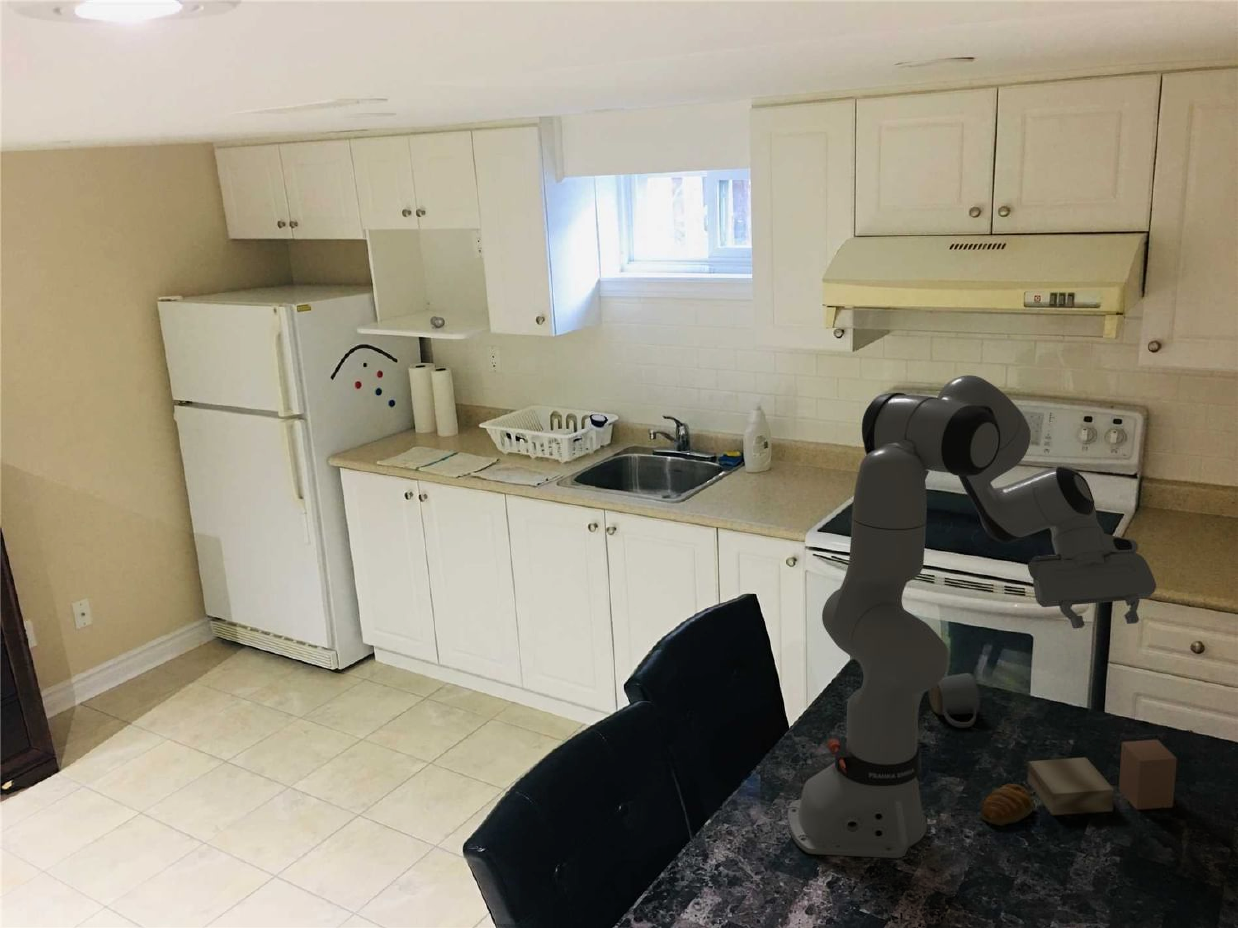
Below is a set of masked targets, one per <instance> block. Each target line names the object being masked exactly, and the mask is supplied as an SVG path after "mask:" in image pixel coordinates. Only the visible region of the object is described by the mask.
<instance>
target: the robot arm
mask: <svg viewBox="0 0 1238 928" xmlns="http://www.w3.org/2000/svg"><path fill="white" fill-rule="evenodd" d="M1030 428H1031V427H1030V425H1029V423H1028V421H1027V419H1026V418H1025V416H1024V414H1023V413H1022V411H1021V410H1020V409H1019V408H1018V406H1017V405H1016V404H1015V403H1014V402H1013V401H1012V400H1011V399H1010V397H1008V396H1007V395H1006V394H1005V393H1004V392H1003V391H1001V390H1000V389H999V388H998V387H997V386H995V385H993V384H992V383H991V382H989V381H987V379H984V378H982V377H980V376H977V375H971V374H970V375H961V376H959V377H955V378H953V379H951V380H950V381H949V382H948V383H947V384H945V385H944V387H942V388H941V390H940V392H939V393H938V396H937V397H936V396H930V395H929V396H928V395H920V394H919V395H918V394H916V395H915V394H906V393H904V392H890V393H884V394H880V395H878V396H876V397H875V398H874V399H872V400H871V403H870V404H869V405H868V406H867V408H866V409H865V412H864V414H863V416H862V422H861V437H862V441H863V448H864V451H865V456H864V457H863V458H862V460H861V463H860V466H859V470H858V472H857V476H856V477H857V478H856V481H855V487H854V494H853V500H852V501H853V502H852V510H851V511H852V512H851V513H852V514H851V527H850V528H851V530H850V531H851V532H850V542H849V543H850V545H849V546H850V547H849V558H848V564H847V569H846V572H845V575H844V578H843V581H842V584H841V586H840V588H838V589H837V590H835V591H834V592H832V593H831V595H829V597H828V598H827V599H826V602H825V603H824V605H823V608H822V613H821V621H822V624H823V628H824V629H825V631H826V632H827V634H828V635H829V637H830V639H831V640H832V641H833V642H834V644H835V645H836V646H837V647H838V648H839V649H840V650H841V651H843V652H844V653H846V654H847V655H849V657H851V658H853V659H854V660H855V661H857V662H858V663H859V665H860V667H861V670H862V673H863V678H862V680H863V681H862V683H861V684H862V685H861V687H860V688H858V689H857V690H856V691H854V692H853V693H852V694H851V695H850V697H849V698H848V700H847V703H846V740H845V742H844V743H843V744H842V745H840V742H839V740H838V739H836V738H830V739H829V740H828V742H827V744H826V746H827V748H828V750H829V753H830V754H831V755H833V756H834V762H833V763H831V764H830V765H828V766H826V768H824V769H823V770H821V771H820V772H818V773H817V774H815V775H813V776H811V777H810V778H808V780H806V782H805V783H804V786H803V788H802V793H801V797H800V799H796V800H793V801H792V802H791V803H790V804H789V805H788V806H789V807H788V809H787V815H786V816H787V817H786V823H787V827H788V830H789V832H790V835H791V837H792V839H793V841H794V842H795V844H796V845H797V846H798V847H799V848H800V849H801V850H803V851H804V852H806V853H807V854H810V855H825V856H826V855H827V856H829V855H830V856H844V857H845V856H848V857H867V858H886V859H887V858H889V859H900V858H903V857H904V856H905V855H906V853H907V852H908V850H909V848H910V847H912V846H913V845H915V844H917V842H920V840H922V838H923V837H925V835H926V832H927V830H928V826H927V825H928V824H927V821H926V818H925V815H924V812H923V806H922V803H921V796H920V795H921V794H920V789H919V787H920V786H919V781H920V778H921V777H920V776H921V771H922V769H921V766H922V762H921V750H920V747H919V746H918V728H919V712H920V711H919V710H920V706H921V702H922V699H923V697H924V694H925V693H926V692H928V690H930V689H932V688H933V687H935V686H936V685H937V684H938V683H939V682H940V681H941V679H942V678H943V677H945V674H946V672H947V670H948V667H949V662H950V653H949V649H948V647H947V645H946V642H944V641H943V639H942V637H941V636H940V635H939V634H937V632H936V631H935V630H934V629H933V628H932V627H931V626H930V625H929V624H928V623H927V622H925V621H923V620H922V619H920V618H919V617H917V616H915V615H914V614H912V613H911V612H909V611H907V610H906V609H904V605H903V595H904V592H905V588H906V585H907V583H908V582H911V581H913V580H914V579H916V578H917V577H919V575H920V574H921V572H922V571H923V568H924V563H925V562H924V561H925V547H926V546H925V545H926V532H927V529H926V528H927V514H928V510H927V509H928V505H927V504H928V502H927V500H928V499H927V487H926V485H927V484H926V479H927V478H928V475H929V473H930V471H933V472H940V473H946V474H952V475H954V476H957V477H958V479H959V480H960V483H961V484H962V487H963V489H964V490H965V492H966V494H967V496H968V497H969V499H970V501H971V503H972V504H973V506H974V509H975V510H976V512H977V513H978V515H979V518H980V522H981V524H982V527H983V528H984V530H985V531H986V532H987V534H988V536H989V537H990V538H991V539H994V541H997V542H1001V543H1003V544H1008V545H1010V544H1011V543H1015V542H1016V541H1019V540H1021V539H1023V538H1025V537H1027V536H1029V535H1032V534H1033V535H1034V534H1035V533H1038V532H1042V531H1044V530H1046V529H1049V530H1050V534H1051V544H1052V547H1053V550H1054V553H1055V554H1047V555H1036V556H1034V557H1033V558H1031V559H1030V560H1029V561H1028V562H1027V570H1028V573H1029V575H1030V577H1031V578H1032V583H1033V590H1034V591H1033V593H1034V595H1035V600H1036V603H1037V604H1038V605H1039V606H1041V607H1042V608H1051V607H1059V610H1060V612H1061V613H1062V614H1063V615H1064V616H1065V617H1066V618H1067V619H1068V620H1070V623H1071V626H1072V629H1075V630H1076V629H1083V628H1084V627H1085V621H1084V617H1083V615H1078V614H1077V613H1076V612H1075V611H1074V610H1073V609H1072V607H1073V606H1074V605H1087V604H1088V605H1090V604H1099V603H1110V602H1122V601H1125V604H1126V606H1130V607H1129V611H1127V612H1126V613H1125V614H1123V616H1124V619H1125V620H1126V621H1125V622H1126V624H1127V625H1129V624H1138V622H1139V621H1140V619H1139V615H1138V612H1137V611H1138V608H1139V604H1140V600H1145V599H1148V598H1150V597H1151V596H1152V595H1153V594H1154V593H1155V591H1156V589H1157V583H1156V580H1155V577H1154V575H1153V572H1152V570H1151V568H1150V566H1149V564H1148V562H1147V561H1146V559H1145V558H1144V556H1143V555H1141V554H1139V553H1137V551H1138V550H1139V544H1138V542H1137V541H1136V540H1134V539H1130V538H1126V537H1122V536H1121V537H1119V536H1115V535H1111V534H1109V533H1108V534H1107V533H1105V532H1104V529H1103V527H1102V526H1101V524H1100V523H1099V521H1098V518H1097V509H1096V507H1095V506H1096V505H1095V499H1094V497H1093V494H1092V490H1091V488H1090V485H1089V483H1088V481H1087V480H1086V478H1085V477H1084V476H1083V475H1082V474H1081V473H1079V471H1078V470H1077V469H1076V468H1073V467H1072V466H1064V465H1063V466H1062V465H1061V466H1054V467H1051V468H1048V469H1047V470H1044V471H1041V472H1038V473H1036V474H1033V475H1031V476H1030V477H1027V478H1023V479H1021V480H1018V481H1015V482H1013V483H1009V484H1007V485H1005V486H1001V487H995V488H994V486H993V485H992V482H993V481H994V480H995V479H997V478H999V477H1000V476H1002V475H1004V474H1005V473H1007V472H1008V471H1010V470H1012V469H1014V468H1015V467H1016V466H1018V464H1020V463H1021V462H1022V460H1023V459H1024V457H1025V455H1026V454H1027V453H1028V449H1029V447H1030V443H1031V437H1032V436H1031V429H1030Z"/></svg>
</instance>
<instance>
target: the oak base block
mask: <svg viewBox="0 0 1238 928" xmlns="http://www.w3.org/2000/svg"><path fill="white" fill-rule="evenodd" d="M1027 765H1028V766H1027V767H1028V768H1027V769H1028V770H1027V783H1028V785H1029V786H1030V787H1031V789H1032V790H1033V791H1034V793H1035V794H1036V795H1037V797H1038V798H1039V799H1040V800H1041V802H1042V803H1043V805H1044V806H1045V807H1046V809H1047V810H1048V811H1049V813H1050V814H1051V815H1052V816H1061V815H1062V816H1063V815H1073V814H1074V815H1075V814H1089V813H1101V812H1102V813H1104V812H1113V811H1114V795H1115V789H1114V787H1112V786H1111V784H1110V783H1109V782H1108V781H1107V780H1106V778H1105V777H1104V776H1103V775H1102V774H1101V773H1100V772H1099V771H1098V769H1097V768H1096V766H1094V764H1092V762H1090V760H1089V759H1088V758H1087V757H1086V756H1085V757H1072V758H1060V759H1059V758H1058V759H1047V760H1046V759H1043V760H1031V761H1028V764H1027Z"/></svg>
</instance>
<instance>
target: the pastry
mask: <svg viewBox="0 0 1238 928" xmlns="http://www.w3.org/2000/svg"><path fill="white" fill-rule="evenodd" d="M1035 809H1036V803H1035V801H1034V799H1033V797H1032V796H1031V794H1030V792H1029V790H1028V789H1026V788H1025V787H1024V786H1022V785H1019V784H1017V783H1013V784H1011V783H1010V782H1009V783H1006V784H1004V785H1002V786H1001V787H999V788H996V789H995V790H993V791H992V792H991V793H990V794H988V796H987V797H986V798H985V800H984V803H983V807H982V808H981V815H982V816H981V817H982V820H983V821H985V822H988V823H990V824H992V825H993V824H994V825H997V826H1005V825H1007V824H1009V825H1010V824H1012V823H1013V824H1014V823H1015V824H1016V823H1019V821H1020V820H1023V819H1024V818H1026V817H1028V816H1029V815H1031V814H1032V812H1033V811H1034V810H1035Z"/></svg>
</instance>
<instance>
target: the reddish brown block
mask: <svg viewBox="0 0 1238 928" xmlns="http://www.w3.org/2000/svg"><path fill="white" fill-rule="evenodd" d="M1119 765H1120V768H1119V782H1118V783H1119V784H1118V790H1119V791H1120V793H1121V794H1122V795H1123V794H1124V795H1125V796H1124V795H1123V796H1124V797H1125V798H1126V799H1127V800H1128V801H1129V803H1130V804H1131V805H1132V806H1133V807H1134V808H1135V809H1136V810H1149V809H1150V810H1151V809H1164V808H1173V807H1174V797H1175V796H1174V795H1175V784H1176V782H1175V781H1176V774H1177V773H1176V772H1177V757H1176V756H1175V755H1174V754H1173V753H1172V752H1171V751H1170V750H1169V749H1168V748H1167V747H1165V745H1163V744H1162V742H1161V741H1159V740H1158V739H1148V740H1147V739H1146V740H1135V741H1133V740H1132V741H1121V750H1120V764H1119ZM1162 807H1163V808H1162Z"/></svg>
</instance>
